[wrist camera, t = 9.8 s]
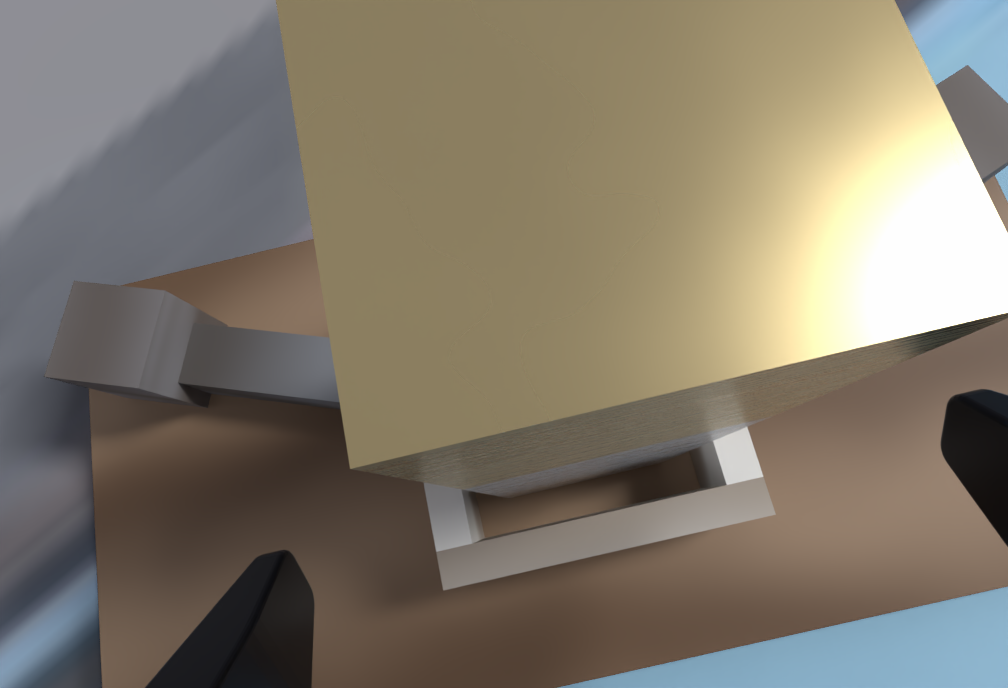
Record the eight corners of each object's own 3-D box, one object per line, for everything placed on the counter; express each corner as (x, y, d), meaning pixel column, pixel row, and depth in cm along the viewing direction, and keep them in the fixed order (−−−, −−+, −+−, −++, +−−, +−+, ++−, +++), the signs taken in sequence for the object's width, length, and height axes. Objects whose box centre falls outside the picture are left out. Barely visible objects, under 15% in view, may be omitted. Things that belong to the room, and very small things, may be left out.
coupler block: (661, 462, 16) (1041, 302, 4) (509, 498, 16) (349, 468, 4) (619, 317, 17) (796, -204, 5) (477, 352, 17) (265, -69, 5)
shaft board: (1136, 545, 16) (1328, 558, 12) (133, 771, 16) (1, 854, 12) (931, 106, 19) (1026, 4, 15) (107, 304, 20) (-3, 255, 16)
